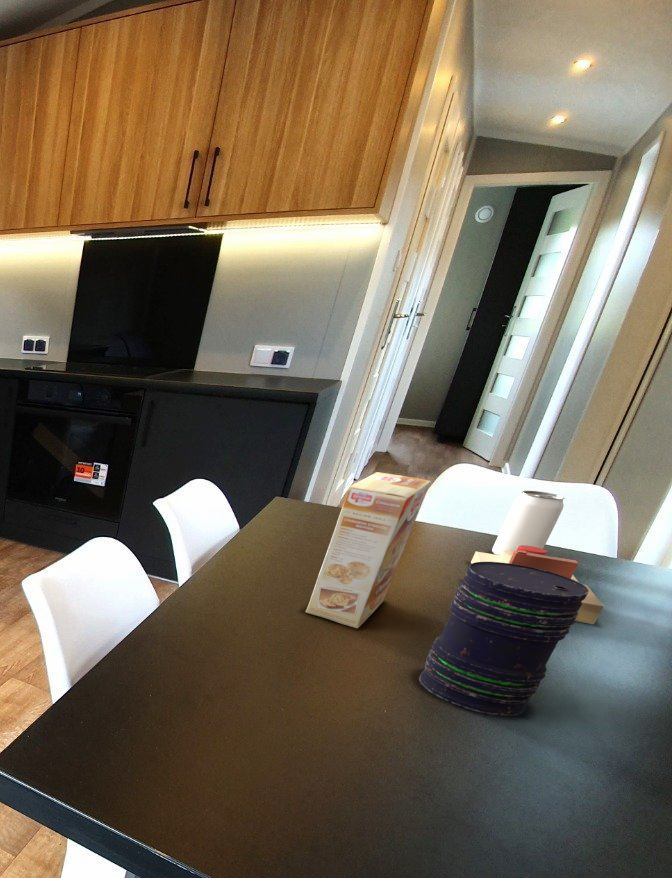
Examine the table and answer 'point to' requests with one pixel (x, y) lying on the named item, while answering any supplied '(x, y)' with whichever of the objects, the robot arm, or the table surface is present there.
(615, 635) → the table surface
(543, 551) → the button
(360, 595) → the coffeecake box
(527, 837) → the table surface
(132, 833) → the table surface
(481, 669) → the dark blue barrel
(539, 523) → the can
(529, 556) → the holder
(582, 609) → the holder base
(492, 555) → the button box
